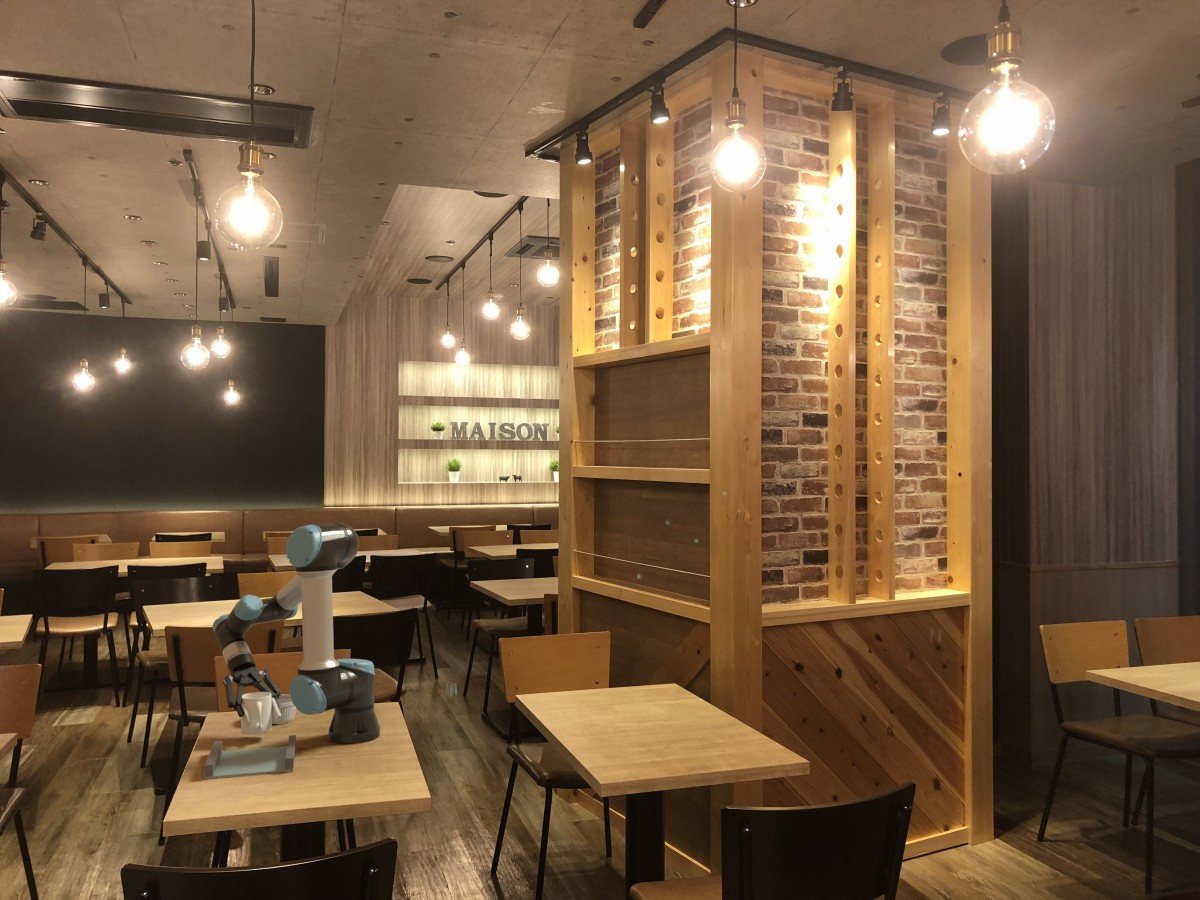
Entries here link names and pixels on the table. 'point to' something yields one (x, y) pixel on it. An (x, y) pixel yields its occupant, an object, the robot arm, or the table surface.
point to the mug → (257, 712)
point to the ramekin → (285, 709)
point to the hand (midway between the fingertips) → (263, 721)
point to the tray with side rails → (250, 760)
